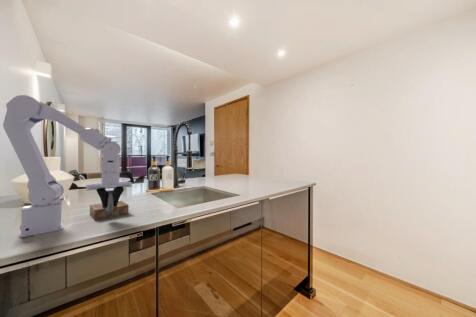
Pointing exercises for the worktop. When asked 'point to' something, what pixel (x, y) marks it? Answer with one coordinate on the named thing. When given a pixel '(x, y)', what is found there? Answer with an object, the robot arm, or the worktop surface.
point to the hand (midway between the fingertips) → (109, 206)
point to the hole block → (99, 211)
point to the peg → (110, 202)
